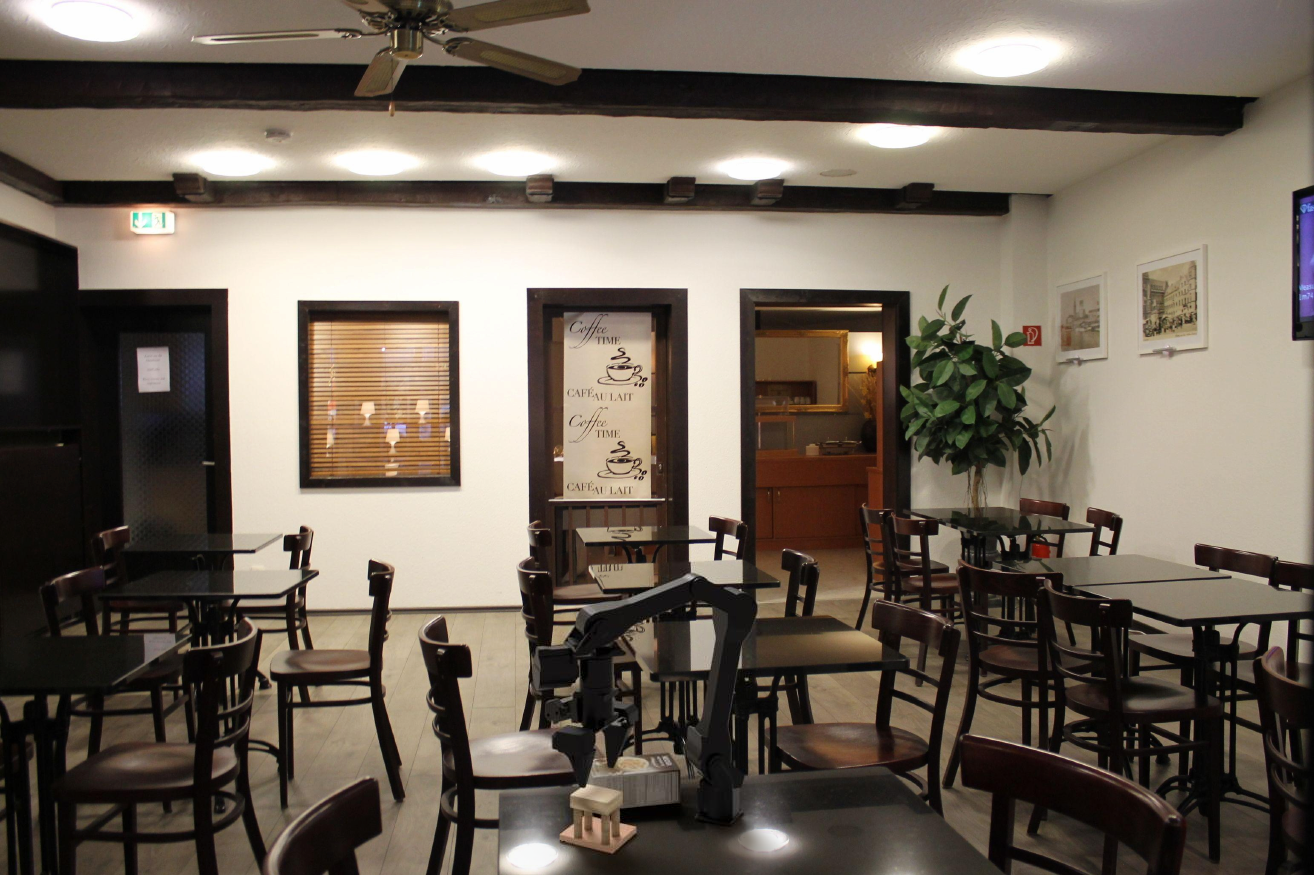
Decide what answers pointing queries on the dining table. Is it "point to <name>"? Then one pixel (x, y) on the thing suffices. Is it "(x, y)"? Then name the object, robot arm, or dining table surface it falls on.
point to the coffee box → (640, 779)
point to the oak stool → (597, 810)
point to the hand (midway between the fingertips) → (597, 777)
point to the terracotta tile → (598, 836)
